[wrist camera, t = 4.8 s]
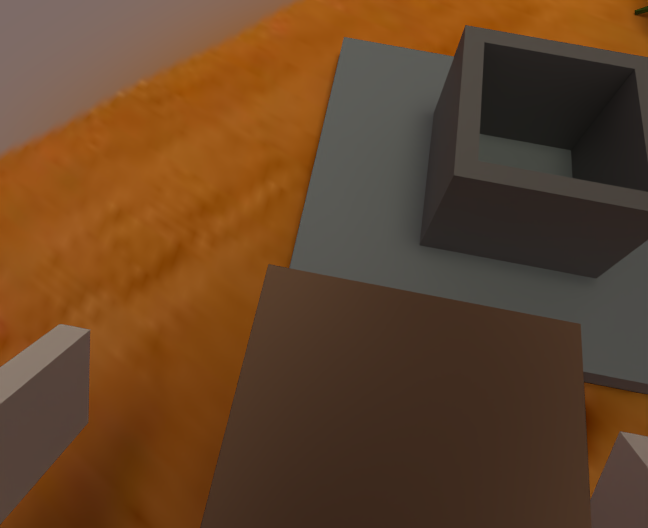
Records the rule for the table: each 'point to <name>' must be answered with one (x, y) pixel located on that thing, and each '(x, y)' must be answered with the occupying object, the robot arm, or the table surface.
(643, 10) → the pomegranate
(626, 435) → the robot arm
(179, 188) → the table surface
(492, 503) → the walnut rail post
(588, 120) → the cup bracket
